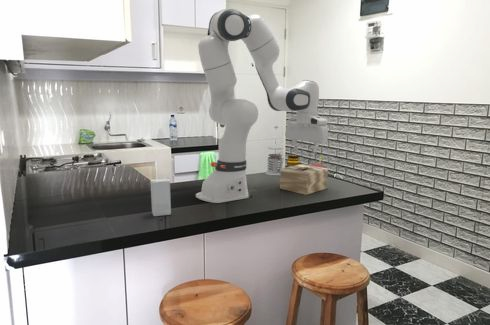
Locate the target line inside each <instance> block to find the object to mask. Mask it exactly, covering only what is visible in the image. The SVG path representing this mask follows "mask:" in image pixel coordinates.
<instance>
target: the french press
mask: <svg viewBox="0 0 490 325" xmlns="http://www.w3.org/2000/svg"><path fill="white" fill-rule="evenodd" d="M273 128H274V129H278V128H279V126H278V125H275V126H274V127H273ZM267 149H269V150H274V153H270V154H268V157H267V170H266V172H265V175H268V176H280V173H281V168H283V163H284V161H283V160H284V157H283V155H284V153H283V152H282V151H279V150H283V149H284V147H283V146H282V145H280V144H277V140H275V144H270V145H269V146H268V147H267ZM276 150H278V151H277V152H276Z"/></svg>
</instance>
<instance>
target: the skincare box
mask: <svg viewBox="0 0 490 325" xmlns="http://www.w3.org/2000/svg"><path fill="white" fill-rule="evenodd" d="M149 182H150V198H151V199H150V200H151V214H152V216H153V217H159V216H160V217H161V216H169V215H172V207H171V206H172V205H171V204H172V203H171V181H170V179H169V178H157V179H150V181H149Z"/></svg>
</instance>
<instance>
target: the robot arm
mask: <svg viewBox="0 0 490 325" xmlns="http://www.w3.org/2000/svg"><path fill="white" fill-rule="evenodd" d="M240 40H241V41H242V42H243V44H245V46H246V48H247V50H248V52H249V53H250V54H249V55H251V58H252V59H253V62H254V66H255V69H256V71H257V74H258V76H259V79H260V81H261V84H262V86H263V88H264V90H265V94H266V99H267V103H268V106H269V107H270V109H272V110H273V111H276V112H281V111H283V112H296V117H295V118H294V117H290V118H289V119H287V121H286V123H287V124H286V128H285V133H284V135H285V138H286V139H289V140H291V143H292V146H293V150H294V151H296V150H299V147H300V145H298V144H297V142H298V141H303V142H312V143H313V145H314V146H313V147H311V151H310V152H311V153H317V149H318V148H319V146H320V144H326V142H328V139H329V138H328V137H329V129H328V126H327V125H328V123H329V122H328V119H327V118H325V117H322V116H320V115H318V113H319V112H318V110H319V109H318V106H319V103H320V102H319V101H320V89H319V88H320V87H319V85H318V83H317V82H315V81H314V80H308V79H304V80H301V81H300V82H299V83H297V84H296V85H294V86H291V87H283V86H282V85H280V83H279V81H278V79H277V77H276V74H275V72H274V70H273V65H274V64H275V63H276V61H277V60H278V58H279V56H280V46H279V43H278V41H277V39H276V36H275V35H274V33H273V32H272V30H271V28H270V26H269V25H268V24H267V23H266V21H265V20H264V19H263V17H262V16H261V15H260V14H254V13H253V14H250V15H246V14H244V13H242V12H241V11H239V10H237V9H233V8H230V9H228V8H225V9H221V10H219V11H217V12H215V13H214V14H213V15H212V16H211V17H210V19H209V23H208V30H207V35H205V36H204V37H202V38H201V39H200V40H199V42H198V44H197V48H198V54H199V58H200V59H199V60H200V63H201V66H202V69H203V73H204V75H205V79H206V83H207V85H208V88H209V93H210V94H209V95H210V106H209V108H208V114H209V117H210V119H211V120H212V121H214V122H215V123H217V124H219V125H222V126H224V127H225V129H224V132H223V135H222V137H221V138H220V139H219V140H218V159H217V161H216V162H215V161H211V163H210V167H212V168H214V170H213V171H212V172H211V173H210V174H209V175H208V176H207V177H206V178H205V179H204V180H203V182H202V185H201V191H199V192H197V193H195V198H197V199H198V200H201V201H205V202H208V203H213V204H221V203H226V202H232V201H238V200H244V199H249V196H250V195H249V194H250V193H249V190H248V184H247V183H248V181H247V174H246V169H247V160H246V155H247V154H246V151H247V150H246V148H247V141H248V140H247V139H248V135H249V133H250V131H251V128H252V127H253V126H254V125H255V124H256V123H257V121H258V118H259V110H258V107H257V105H256V104H255V103H254V102H251V101H249V100H248V99H244V98H243V99H242V98H236V95H235V86H236V84H237V80H238V79H237V76H236V73H235V70H234V67H233V63H232V59H231V57H230V54H229V43H230V42H235V41H240Z"/></svg>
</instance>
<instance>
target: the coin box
mask: <svg viewBox="0 0 490 325" xmlns="http://www.w3.org/2000/svg"><path fill="white" fill-rule="evenodd" d="M310 165H311V164H310ZM310 165H309V164H303V163H301V164H300V163H299V165H295V166H291V167H287V166H286V167H282V168H281V173H280V175H279V176H280V180H279V189H281V190H285V191H289V192H293V193H297V194H302V195H303V196H304V195H305V196H306V195H310V194H314V193H316V192H319V191H323V190H326V189H327V188H328V177H329V176H328V174H329V173H328V172H329V168H327V167H326V168H321V167H316V166H310Z"/></svg>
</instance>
